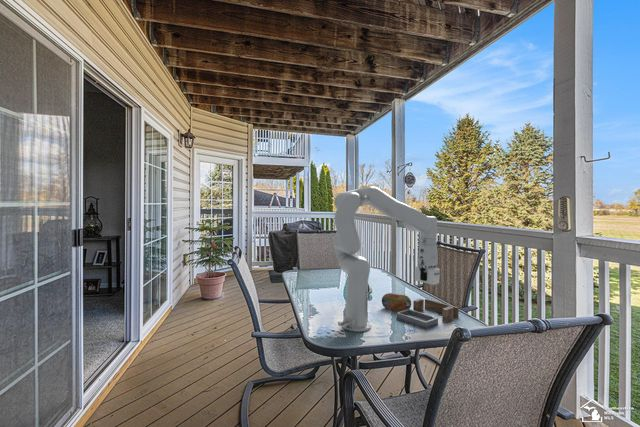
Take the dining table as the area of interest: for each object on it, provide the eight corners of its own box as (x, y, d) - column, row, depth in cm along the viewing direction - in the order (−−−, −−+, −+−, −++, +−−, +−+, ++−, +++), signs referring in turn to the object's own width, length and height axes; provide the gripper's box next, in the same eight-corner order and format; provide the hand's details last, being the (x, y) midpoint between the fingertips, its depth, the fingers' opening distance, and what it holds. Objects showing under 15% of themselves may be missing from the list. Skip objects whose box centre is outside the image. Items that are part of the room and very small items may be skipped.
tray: (425, 329, 136) (425, 322, 136) (396, 319, 148) (396, 312, 148) (437, 324, 142) (438, 318, 142) (408, 314, 154) (408, 308, 154)
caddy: (435, 285, 143) (436, 270, 143) (414, 280, 152) (415, 266, 152) (441, 283, 146) (442, 269, 146) (420, 279, 155) (421, 265, 155)
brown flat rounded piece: (381, 308, 164) (381, 292, 164) (383, 306, 167) (383, 291, 167) (410, 313, 157) (410, 296, 157) (411, 311, 160) (412, 295, 160)
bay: (446, 322, 144) (446, 309, 144) (413, 312, 158) (413, 300, 158) (458, 317, 151) (458, 305, 151) (425, 308, 165) (425, 296, 165)
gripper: (424, 243, 141) (423, 283, 141) (444, 241, 152) (443, 278, 152) (410, 241, 147) (409, 280, 147) (430, 240, 158) (429, 276, 158)
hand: (426, 279), depth 150 cm, fingers closed on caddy, 5 cm apart
